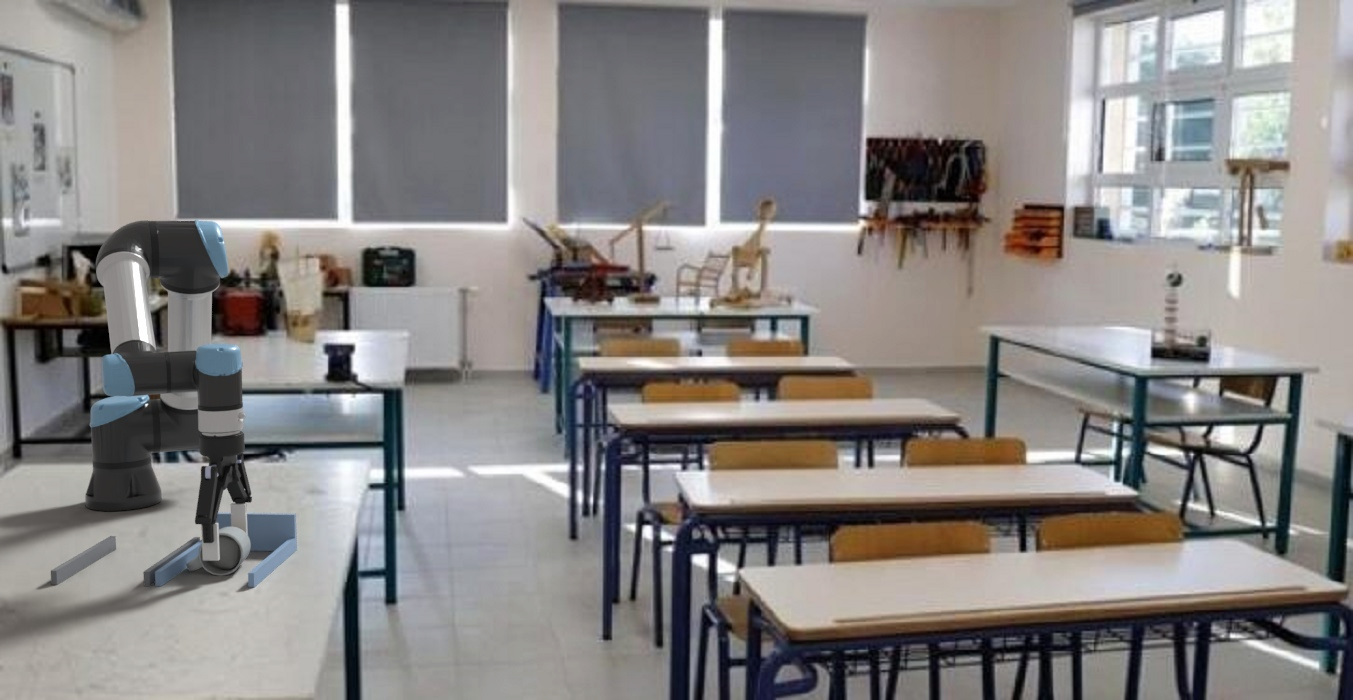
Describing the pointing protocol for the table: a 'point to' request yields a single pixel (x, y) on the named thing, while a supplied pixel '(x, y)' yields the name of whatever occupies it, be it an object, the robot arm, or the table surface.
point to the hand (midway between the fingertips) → (225, 549)
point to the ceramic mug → (225, 553)
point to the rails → (102, 550)
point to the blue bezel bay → (263, 535)
